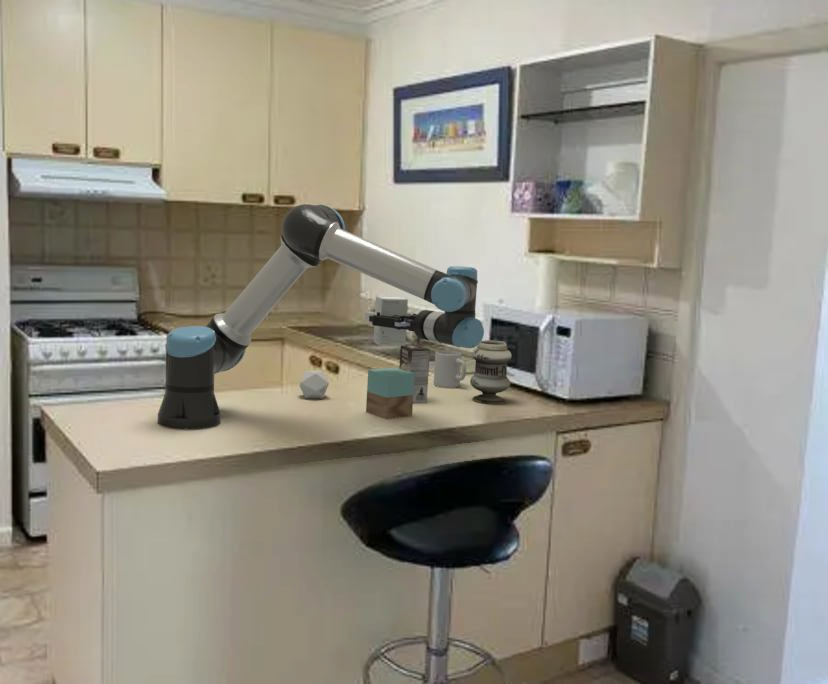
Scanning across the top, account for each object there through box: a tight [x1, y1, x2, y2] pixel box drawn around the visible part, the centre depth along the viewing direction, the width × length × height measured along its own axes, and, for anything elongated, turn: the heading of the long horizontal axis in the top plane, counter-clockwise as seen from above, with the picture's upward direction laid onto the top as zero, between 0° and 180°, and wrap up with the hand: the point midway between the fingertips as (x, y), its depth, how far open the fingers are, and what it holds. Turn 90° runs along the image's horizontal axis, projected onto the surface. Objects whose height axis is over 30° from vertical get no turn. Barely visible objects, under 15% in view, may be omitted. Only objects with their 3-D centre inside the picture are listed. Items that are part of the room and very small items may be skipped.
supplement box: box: [373, 295, 409, 347], centre depth 236 cm, size 7×7×13 cm
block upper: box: [366, 367, 415, 398], centre depth 240 cm, size 9×9×6 cm
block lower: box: [365, 391, 414, 420], centre depth 241 cm, size 9×9×6 cm
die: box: [298, 370, 330, 399], centre depth 257 cm, size 8×9×10 cm
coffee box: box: [398, 343, 431, 404], centre depth 261 cm, size 9×6×16 cm
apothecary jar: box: [469, 339, 512, 405], centre depth 266 cm, size 12×12×18 cm
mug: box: [433, 350, 467, 389], centre depth 285 cm, size 12×8×11 cm
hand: (380, 316), depth 239 cm, fingers closed on supplement box, 9 cm apart
